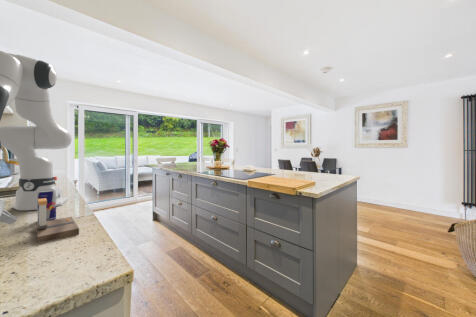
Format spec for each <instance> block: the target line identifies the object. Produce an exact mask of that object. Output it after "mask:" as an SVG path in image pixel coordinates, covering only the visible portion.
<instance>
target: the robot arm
mask: <svg viewBox="0 0 476 317" xmlns="http://www.w3.org/2000/svg"><path fill="white" fill-rule="evenodd" d="M56 81H57V73H56V69H55V68H54V66H52V64H50V63H48V62H46V61H43V60H38V59H35V58H31V57H28V56H24V55H21V54H14V53H9V52H4V51H1V50H0V121H1V120H2V117H3V114H4V112H5V110H6V107H8V106H10V105H11V104H12V102H13V101H14V105H15V106H14V107H15V112H16V114H17V115H18V116H19V117H21V118H23V119H24V120H26V121H29V122H31V123H33V124H34V125H35V126H34V125H22V124H21V125H19V124H12V125H1V126H0V151H1V149H2V147H3V148H5V149H6V150H8V151H9V152H11V153H12V154H13V155H14V156H15V159H16V160H17V162H18V167H19V175H20V176H19V179H18V187H19V188H18V189H17V190H16V191H15V199H14V200H15V201H14V204H13V205H11V209H14V210H15V211H33V210H34V211H35V210H37V211H38V206H37V193H38V191H41V190H51V189H53V190H55V191H56V207H60V206H63V204H65V203H66V202H67V201H68V200H69V197H67V196H63V190H62V188H61V187H59V186H57V184H56V181H58V177H57V176H53V161H52V160H50V158H47V157H45V156H43V155H39V154H37V153H36V150H61V149H62V150H63V149H67V148H68V147H69V146H70V145H71V143H72V140H73V139H72V135H71V133H70V132H69V131H68V130H67V129H65V128H64V127H62V126H60V125H59V124H58V122H56V120H55V119H54V117H53V115H52V111H51V102H50V93H49V89H51V88H53V87H54V86H55V85H56ZM5 204H6V201H4V200H3V199H2V198H1V197H0V222H2V223H5V224H7V225H9V226H10V225H14V223H16V222H17V217H16V216H15V215H12V214H11V213H10V212H9V211H8V210H6V209H4V208H5Z"/></svg>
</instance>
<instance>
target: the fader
mask: <svg viewBox="0 0 476 317" xmlns="http://www.w3.org/2000/svg"><path fill="white" fill-rule="evenodd" d="M46 204H47V199H46V198H42V199H38V205H39V223H38V222H37V223H38V227H39V229H43V228H47V222H46Z"/></svg>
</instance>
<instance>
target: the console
mask: <svg viewBox="0 0 476 317" xmlns="http://www.w3.org/2000/svg"><path fill="white" fill-rule="evenodd" d="M46 222H47V228H43V229H39V227H38V223H39V222H38V221H37V222H35V232H36V233H35V234H36V243H37V244H42V243H46V242H50V241H54V240H55V241H56V240H58V239H63V238H68V237H72V236H77V235H79V234H80V227H79V226H78V224H77V223H76V221H75V220H74V218H73V216H67V217H62V218H61V217H60V218H56V219H55V220H50V221H46Z"/></svg>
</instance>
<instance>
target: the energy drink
mask: <svg viewBox="0 0 476 317" xmlns="http://www.w3.org/2000/svg"><path fill="white" fill-rule="evenodd" d="M42 198H46V199H47V204H46V221H50V220H55V219H57V206H56V191H55V190H53V189H51V190H41V191H38V193H37V206H38V209H37V223H38V222H39V205H38V199H42Z"/></svg>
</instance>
